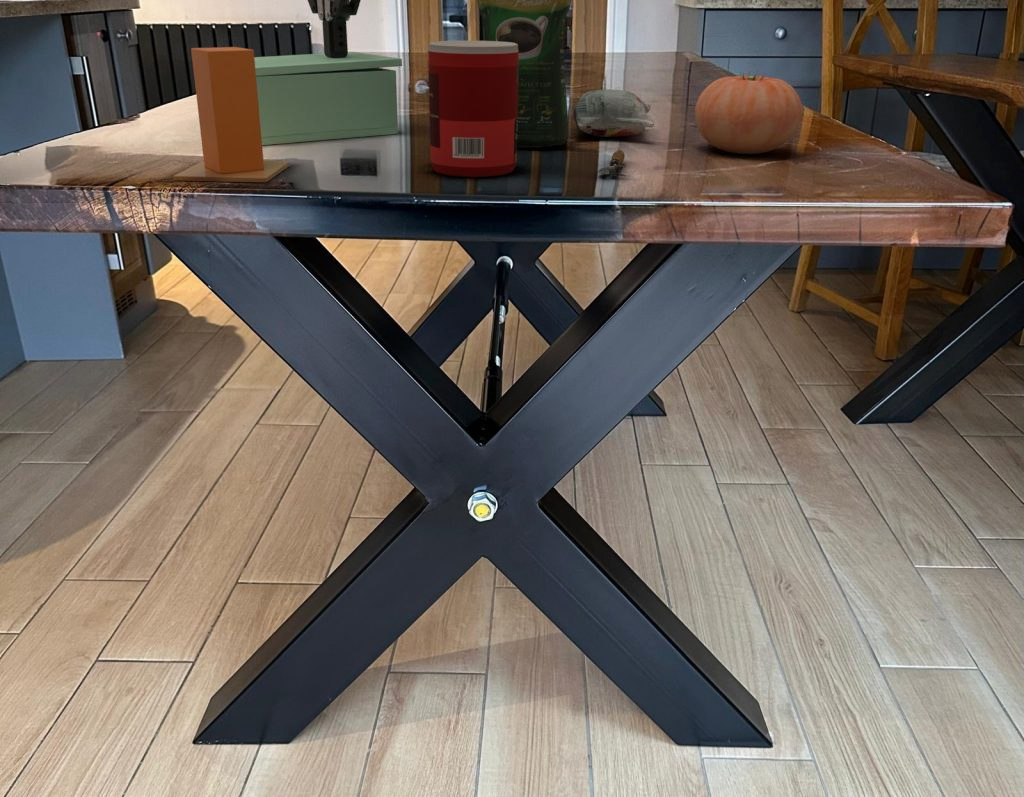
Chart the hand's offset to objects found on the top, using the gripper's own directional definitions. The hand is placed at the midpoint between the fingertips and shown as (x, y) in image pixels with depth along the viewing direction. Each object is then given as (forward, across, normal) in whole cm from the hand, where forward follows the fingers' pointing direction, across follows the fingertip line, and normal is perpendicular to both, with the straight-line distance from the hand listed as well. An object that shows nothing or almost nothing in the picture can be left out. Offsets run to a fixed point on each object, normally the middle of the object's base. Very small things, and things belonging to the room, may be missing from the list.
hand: (336, 56), depth 107 cm
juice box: (+8, +19, -20) cm, 29 cm away
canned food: (+8, +29, -1) cm, 30 cm away
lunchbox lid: (+1, 0, -4) cm, 4 cm away
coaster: (+8, +19, -20) cm, 29 cm away
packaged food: (+8, +19, +25) cm, 33 cm away
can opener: (+8, +36, +10) cm, 38 cm away
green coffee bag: (+8, +19, +12) cm, 24 cm away
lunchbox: (+8, 0, -4) cm, 9 cm away
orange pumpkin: (+8, +35, +29) cm, 46 cm away
